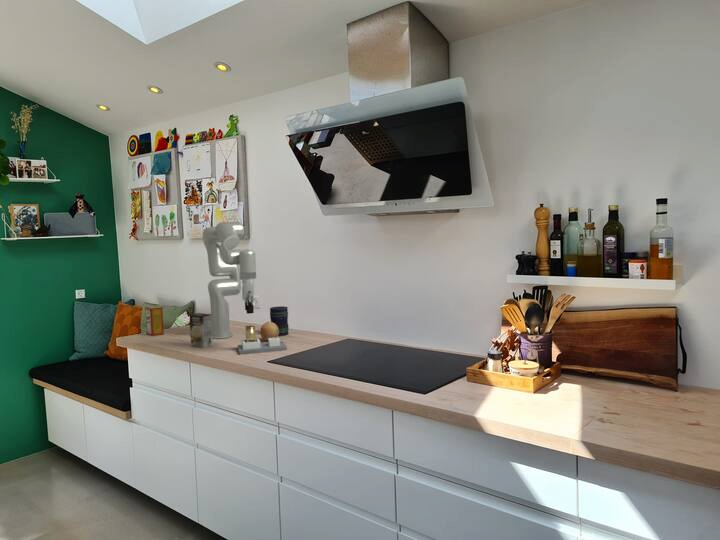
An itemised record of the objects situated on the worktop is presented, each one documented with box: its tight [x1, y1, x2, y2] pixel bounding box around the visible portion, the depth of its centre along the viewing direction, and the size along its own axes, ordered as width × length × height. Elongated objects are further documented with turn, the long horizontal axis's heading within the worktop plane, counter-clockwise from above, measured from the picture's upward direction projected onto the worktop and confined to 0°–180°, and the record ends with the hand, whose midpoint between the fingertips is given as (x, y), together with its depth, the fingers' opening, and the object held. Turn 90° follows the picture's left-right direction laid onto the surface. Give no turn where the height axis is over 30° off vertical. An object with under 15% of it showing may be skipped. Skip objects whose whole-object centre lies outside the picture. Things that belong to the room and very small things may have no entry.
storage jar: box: [269, 305, 290, 337], centre depth 278 cm, size 10×10×15 cm
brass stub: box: [244, 324, 256, 342], centre depth 242 cm, size 4×4×10 cm
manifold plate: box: [237, 336, 288, 355], centre depth 244 cm, size 14×22×4 cm, turn 107°
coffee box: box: [189, 312, 213, 349], centre depth 255 cm, size 9×6×16 cm
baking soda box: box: [144, 305, 165, 337], centre depth 289 cm, size 10×6×16 cm
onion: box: [259, 321, 279, 342], centre depth 263 cm, size 10×10×10 cm
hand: (249, 311), depth 242 cm, fingers open, 9 cm apart
